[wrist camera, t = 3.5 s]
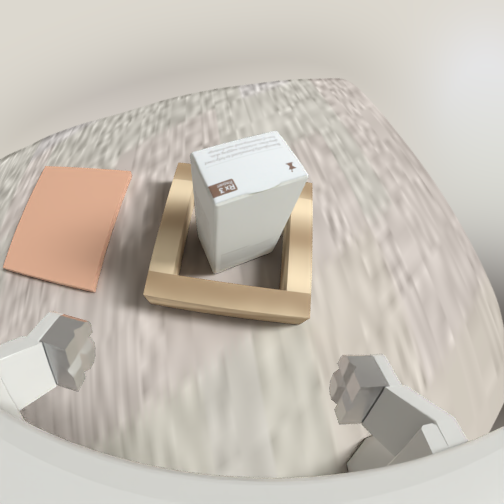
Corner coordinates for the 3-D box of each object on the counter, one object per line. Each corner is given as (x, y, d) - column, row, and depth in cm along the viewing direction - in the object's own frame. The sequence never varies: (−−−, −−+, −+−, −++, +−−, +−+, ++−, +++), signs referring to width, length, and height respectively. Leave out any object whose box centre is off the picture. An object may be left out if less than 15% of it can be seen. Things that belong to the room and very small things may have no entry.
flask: (365, 505, 18) (424, 541, 9) (333, 462, 20) (392, 495, 11) (417, 459, 21) (486, 473, 11) (391, 414, 23) (464, 419, 13)
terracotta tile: (95, 292, 24) (91, 290, 23) (6, 270, 23) (2, 267, 22) (132, 175, 29) (130, 171, 28) (47, 170, 28) (45, 166, 27)
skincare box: (253, 216, 29) (278, 124, 18) (274, 255, 28) (314, 174, 16) (194, 237, 27) (186, 145, 16) (212, 279, 26) (214, 205, 15)
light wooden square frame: (299, 324, 25) (309, 317, 22) (150, 303, 24) (143, 294, 21) (303, 199, 30) (312, 183, 28) (180, 181, 29) (178, 162, 27)
